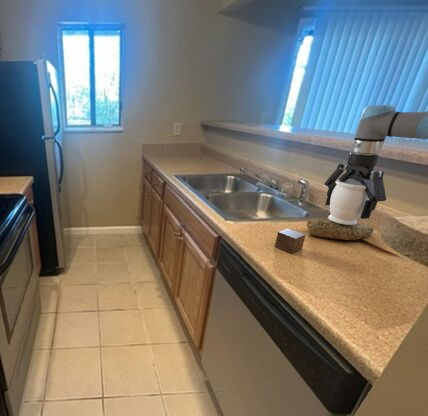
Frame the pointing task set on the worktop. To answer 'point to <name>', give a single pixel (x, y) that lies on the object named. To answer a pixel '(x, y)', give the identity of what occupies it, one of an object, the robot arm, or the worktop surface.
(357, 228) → the rough brown rock
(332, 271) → the worktop surface
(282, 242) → the walnut block
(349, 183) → the jar
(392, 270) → the worktop surface
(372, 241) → the worktop surface
